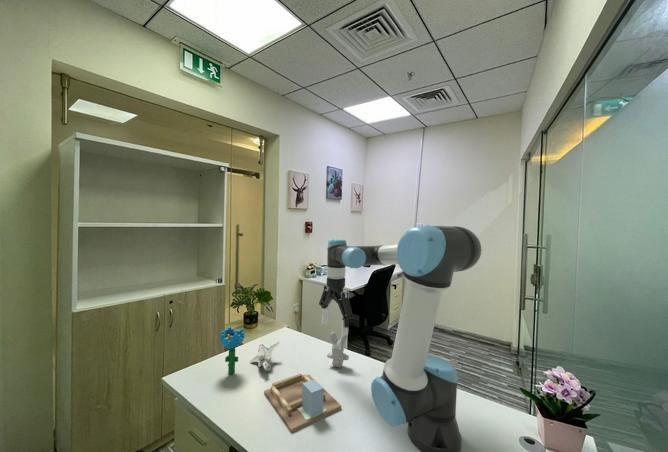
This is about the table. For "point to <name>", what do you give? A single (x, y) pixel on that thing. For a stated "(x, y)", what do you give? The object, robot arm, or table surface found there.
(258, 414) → the table surface
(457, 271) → the robot arm
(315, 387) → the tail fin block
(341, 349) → the bunny figurine
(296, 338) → the table surface
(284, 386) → the jig
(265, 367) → the toy spacecraft
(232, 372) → the toy flower
